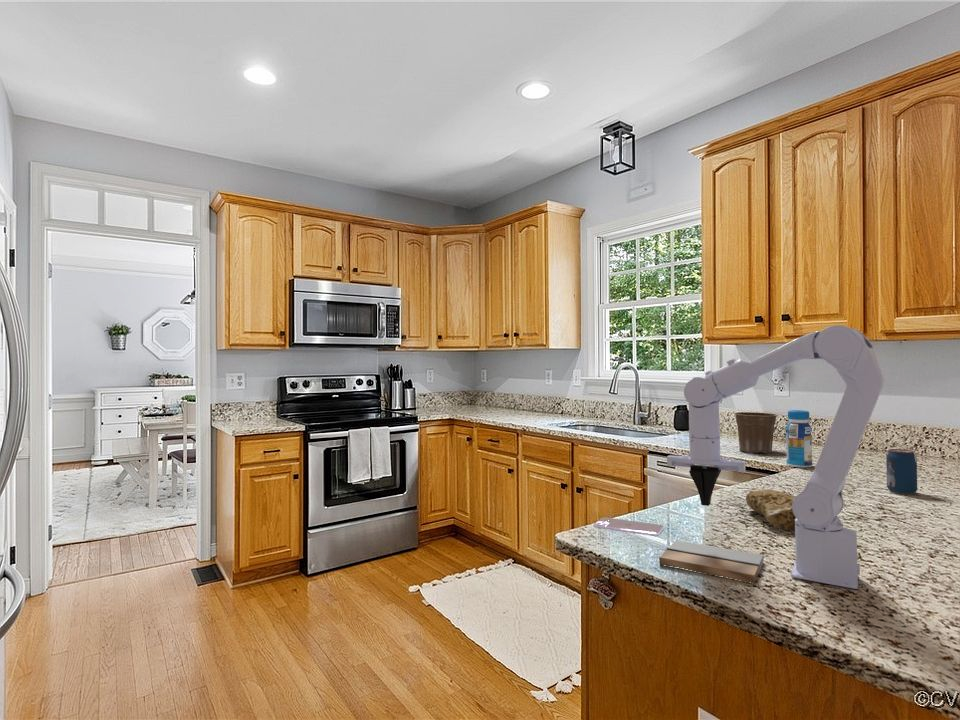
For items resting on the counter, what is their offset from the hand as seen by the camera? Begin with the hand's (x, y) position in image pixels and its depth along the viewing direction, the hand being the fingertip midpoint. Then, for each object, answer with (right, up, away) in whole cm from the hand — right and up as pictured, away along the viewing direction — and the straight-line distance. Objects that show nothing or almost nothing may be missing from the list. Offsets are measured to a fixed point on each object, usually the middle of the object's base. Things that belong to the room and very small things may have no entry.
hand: (705, 504), depth 108 cm
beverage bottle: (+71, -10, +87) cm, 113 cm away
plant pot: (+72, -10, +120) cm, 140 cm away
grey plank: (0, -9, -5) cm, 10 cm away
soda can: (+76, -9, +46) cm, 89 cm away
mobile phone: (-11, -10, +16) cm, 22 cm away
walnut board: (-4, -9, -10) cm, 14 cm away
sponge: (+26, -10, +20) cm, 34 cm away
